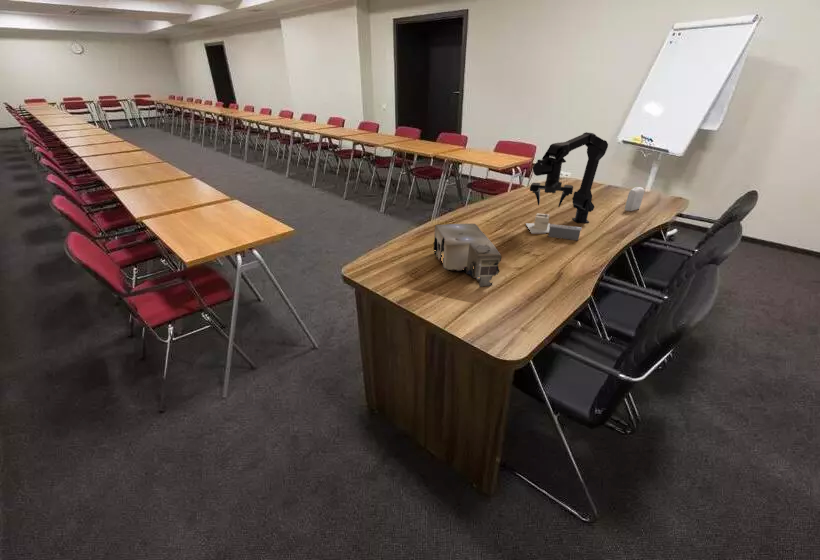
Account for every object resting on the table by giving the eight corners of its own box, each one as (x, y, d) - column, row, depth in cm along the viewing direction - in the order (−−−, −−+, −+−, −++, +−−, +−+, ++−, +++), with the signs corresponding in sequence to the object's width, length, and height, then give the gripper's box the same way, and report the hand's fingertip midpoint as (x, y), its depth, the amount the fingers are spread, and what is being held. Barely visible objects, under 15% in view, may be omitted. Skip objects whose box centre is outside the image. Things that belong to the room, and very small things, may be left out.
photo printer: (633, 206, 216) (639, 185, 210) (640, 208, 213) (647, 186, 207) (623, 210, 211) (628, 187, 205) (630, 212, 208) (636, 189, 202)
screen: (548, 234, 179) (549, 223, 177) (579, 238, 174) (581, 227, 172) (547, 236, 177) (549, 225, 174) (578, 240, 172) (581, 229, 170)
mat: (525, 224, 192) (525, 223, 191) (549, 224, 191) (549, 223, 191) (530, 233, 181) (531, 231, 181) (556, 233, 180) (556, 231, 180)
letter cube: (535, 224, 189) (536, 212, 186) (547, 226, 187) (549, 214, 184) (533, 228, 184) (535, 216, 181) (546, 230, 182) (548, 217, 179)
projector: (448, 289, 133) (451, 254, 127) (432, 252, 162) (434, 222, 156) (498, 287, 136) (504, 252, 129) (474, 251, 164) (477, 222, 158)
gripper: (530, 175, 171) (526, 209, 179) (574, 178, 165) (568, 213, 172) (533, 170, 180) (529, 202, 188) (575, 172, 174) (569, 206, 181)
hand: (548, 206), depth 182 cm, fingers open, 9 cm apart
